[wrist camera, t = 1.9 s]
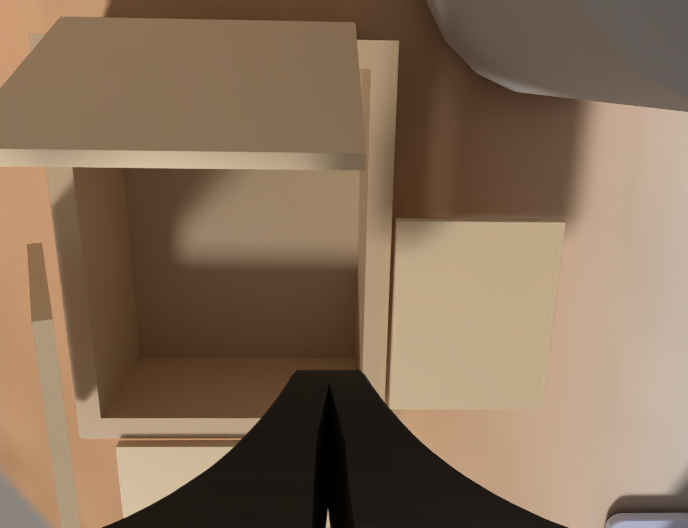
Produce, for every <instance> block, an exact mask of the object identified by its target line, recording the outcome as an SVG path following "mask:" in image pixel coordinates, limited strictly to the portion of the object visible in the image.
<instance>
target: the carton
mask: <svg viewBox="0 0 688 528" xmlns="http://www.w3.org/2000/svg"><path fill="white" fill-rule="evenodd" d="M45 35H46V34H29V37H30V45H31V51H32V50H33V49H34V48H35V47H36V45H37V44H38V43H39V42H40V41H41V39H42V38H43V37H44V36H45ZM357 48H358V60H359V72H360V84H361V96H362V108H363V120H364V132H365V145H366V166H365V171H352V170H266V169H181V168H96V167H46V172H47V180H48V188H49V196H50V204H51V212H52V220H53V228H54V236H55V244H56V252H57V260H58V268H59V276H60V284H61V292H62V300H63V308H64V316H65V324H66V331H67V339H68V347H69V355H70V363H71V371H72V379H73V387H74V395H75V403H76V411H77V419H78V427H79V435H80V438H243V437H244V436H245V435H246V434H247V433H248V432H249V431H250V430H251V429H252V428H253V426H254V425H255V424H256V423H257V422H258V421H259V420H260V419H261V417H262V416H263V415H264V414H265V412H266V411H267V410H268V409H269V407H270V406H271V405H272V404H273V402H274V401H275V400H276V398H277V397H278V396H279V394H280V393H281V392H282V390H283V389H284V387H285V386H286V384H287V382H288V381H289V379H290V377H291V375H292V374H293V373H295V372H296V371H297V370H361V371H362V372H363V373H364V374H365V375H366V377H367V378H368V380H369V381H370V383H371V384H372V386H373V387H374V389H375V390H376V392H377V393H378V394H379V395H380V397H381V398H382V399H383V401H384V402H385V383H386V358H387V332H388V307H389V282H390V257H391V232H392V207H393V182H394V156H395V131H396V106H397V81H398V56H399V41H395V40H357ZM565 225H566V222H564V221H563V220H547V219H440V218H396V230H395V254H394V278H393V302H392V326H391V350H390V374H389V398H388V405H389V408H390V409H391V410H542V409H543V401H544V393H545V385H546V377H547V369H548V361H549V353H550V345H551V337H552V329H553V321H554V313H555V305H556V297H557V289H558V281H559V273H560V265H561V257H562V249H563V241H564V233H565ZM239 441H240V440H165V441H119V442H118V444H117V446H116V455H117V464H118V474H119V483H120V492H121V502H122V511H123V518H126V517H128V516H130V515H132V514H134V513H136V512H138V511H140V510H142V509H144V508H146V507H148V506H150V505H151V504H153V503H155V502H157V501H159V500H160V499H162V498H164V497H166V496H168V495H169V494H171V493H173V492H174V491H176V490H177V489H179V488H180V487H182V486H183V485H185V484H186V483H188V482H189V481H191V480H192V479H194V478H195V477H197V476H198V475H200V474H201V473H203V472H204V471H206V470H207V469H208V468H210V467H211V466H212V465H214V464H215V463H216V462H217V461H219V460H220V459H221V458H222V457H223V456H224V455H226V454H227V453H228V452H229V451H230V450H231V449H232V448H233V447H234V446H235V445H236V444H237V443H238V442H239ZM326 528H330V522H329V513H327V522H326Z"/></svg>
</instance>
